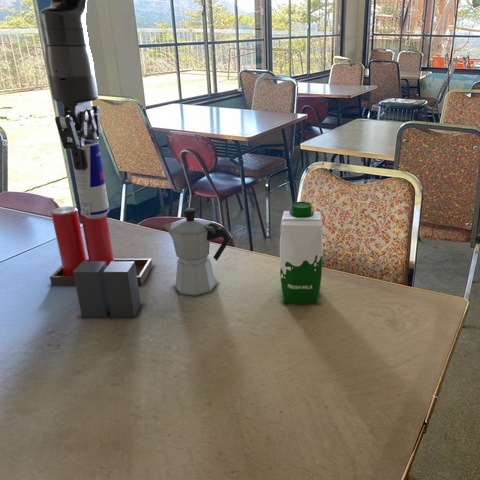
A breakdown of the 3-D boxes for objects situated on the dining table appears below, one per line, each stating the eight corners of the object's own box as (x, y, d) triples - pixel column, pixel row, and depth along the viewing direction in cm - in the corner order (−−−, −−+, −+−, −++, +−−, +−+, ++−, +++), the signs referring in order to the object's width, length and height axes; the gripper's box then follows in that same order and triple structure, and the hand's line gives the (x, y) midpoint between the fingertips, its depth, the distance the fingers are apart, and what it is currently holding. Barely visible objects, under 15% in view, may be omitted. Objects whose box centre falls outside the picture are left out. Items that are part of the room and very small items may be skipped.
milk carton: (320, 285, 108) (322, 201, 100) (321, 306, 100) (324, 216, 92) (281, 284, 108) (280, 200, 99) (279, 306, 99) (278, 216, 91)
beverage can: (114, 215, 97) (103, 141, 91) (89, 222, 94) (75, 145, 87) (102, 209, 100) (91, 137, 94) (78, 215, 97) (64, 140, 91)
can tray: (51, 285, 104) (49, 277, 103) (69, 266, 113) (67, 258, 112) (141, 285, 105) (140, 277, 105) (152, 266, 114) (151, 258, 113)
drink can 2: (88, 278, 106) (76, 214, 100) (96, 268, 111) (85, 206, 105) (111, 278, 107) (100, 214, 101) (118, 268, 111) (108, 206, 105)
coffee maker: (159, 292, 103) (150, 213, 96) (177, 273, 111) (170, 199, 104) (225, 300, 101) (221, 220, 94) (239, 280, 109) (236, 206, 101)
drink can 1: (60, 278, 106) (46, 213, 100) (69, 268, 111) (57, 205, 104) (83, 278, 106) (71, 214, 100) (92, 268, 111) (80, 206, 105)
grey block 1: (81, 317, 93) (72, 271, 89) (90, 305, 98) (82, 261, 94) (105, 317, 94) (97, 272, 90) (113, 305, 98) (105, 261, 94)
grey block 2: (110, 317, 94) (103, 271, 90) (118, 305, 98) (111, 261, 94) (134, 317, 94) (127, 271, 90) (140, 305, 98) (134, 261, 94)
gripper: (67, 68, 92) (83, 156, 99) (29, 75, 79) (50, 175, 86) (107, 69, 92) (120, 156, 99) (76, 76, 79) (92, 176, 86)
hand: (87, 164), depth 93 cm, fingers closed on beverage can, 5 cm apart
